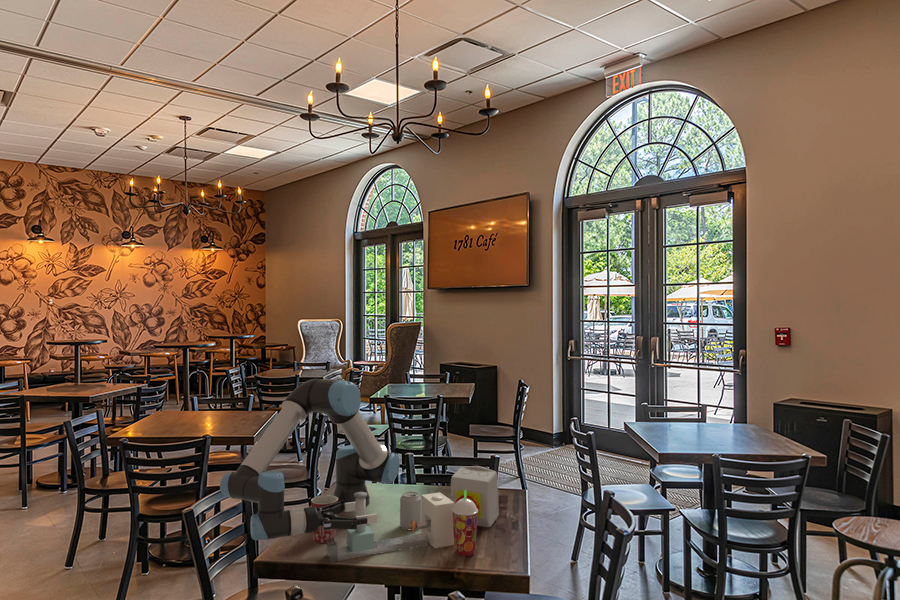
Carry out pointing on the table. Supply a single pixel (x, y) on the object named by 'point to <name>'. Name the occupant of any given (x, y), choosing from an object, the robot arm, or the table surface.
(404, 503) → the can
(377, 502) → the table surface
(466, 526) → the smoothie
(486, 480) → the electrical switch box
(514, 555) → the table surface
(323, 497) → the mug
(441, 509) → the white notched housing
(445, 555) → the table surface
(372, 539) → the carriage
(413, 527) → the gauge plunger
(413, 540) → the rail
